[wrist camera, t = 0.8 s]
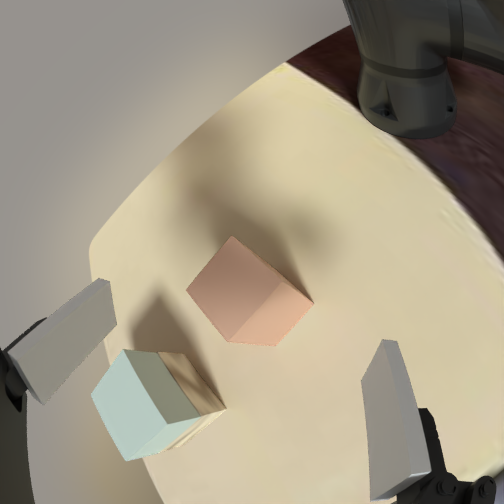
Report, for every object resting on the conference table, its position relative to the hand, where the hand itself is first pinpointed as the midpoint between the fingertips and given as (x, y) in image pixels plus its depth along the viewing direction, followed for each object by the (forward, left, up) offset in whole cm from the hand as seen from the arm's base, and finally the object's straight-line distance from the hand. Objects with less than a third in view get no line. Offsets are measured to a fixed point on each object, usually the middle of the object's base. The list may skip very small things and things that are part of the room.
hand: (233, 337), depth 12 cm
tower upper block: (+16, +9, -12) cm, 22 cm away
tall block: (+4, -4, -17) cm, 18 cm away
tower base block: (+16, +8, -17) cm, 25 cm away
